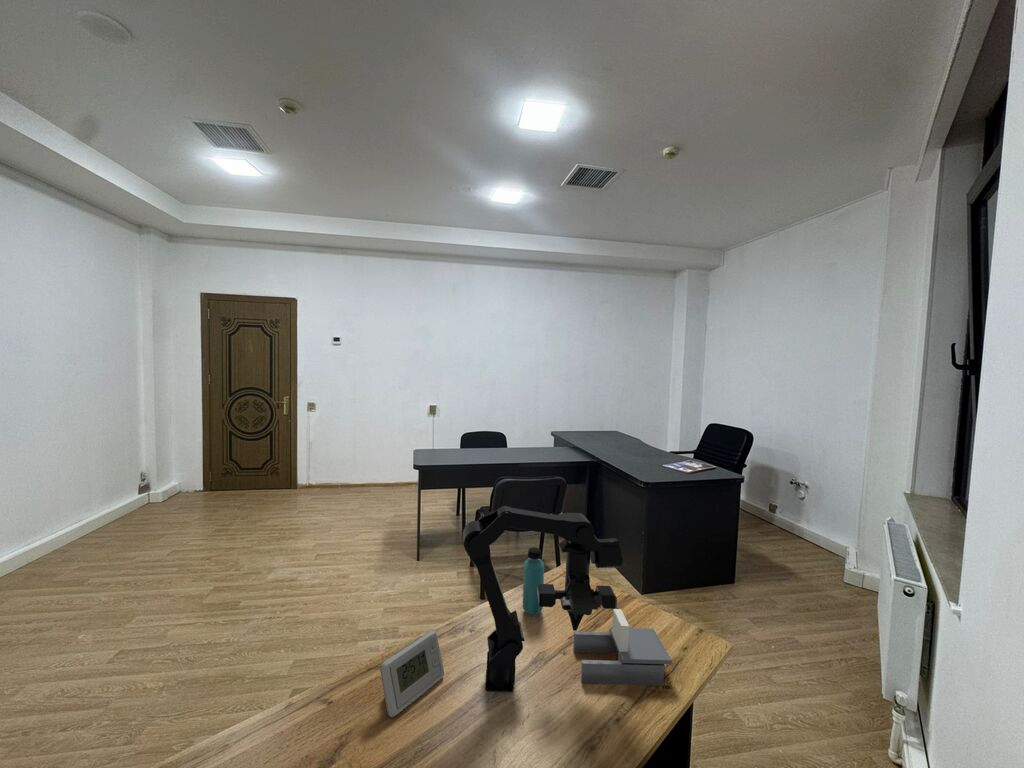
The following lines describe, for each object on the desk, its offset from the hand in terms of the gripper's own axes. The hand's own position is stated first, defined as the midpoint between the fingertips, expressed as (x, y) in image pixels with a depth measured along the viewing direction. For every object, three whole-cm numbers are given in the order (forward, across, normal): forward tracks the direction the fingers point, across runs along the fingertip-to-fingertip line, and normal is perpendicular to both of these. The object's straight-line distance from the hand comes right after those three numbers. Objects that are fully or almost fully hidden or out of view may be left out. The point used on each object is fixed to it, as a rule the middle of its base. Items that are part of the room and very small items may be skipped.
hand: (574, 629), depth 100 cm
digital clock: (+12, -38, -6) cm, 40 cm away
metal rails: (+12, +12, +4) cm, 17 cm away
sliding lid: (+7, +18, +4) cm, 19 cm away
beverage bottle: (+12, -8, +26) cm, 30 cm away
